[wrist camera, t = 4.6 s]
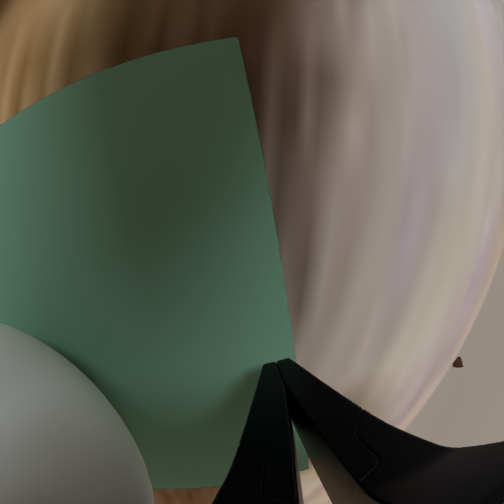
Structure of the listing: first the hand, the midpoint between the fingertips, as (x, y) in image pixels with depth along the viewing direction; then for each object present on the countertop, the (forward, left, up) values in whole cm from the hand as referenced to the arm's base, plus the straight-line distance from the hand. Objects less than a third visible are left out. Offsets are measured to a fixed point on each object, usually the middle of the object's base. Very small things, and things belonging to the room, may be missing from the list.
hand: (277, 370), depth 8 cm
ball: (+9, 0, +4) cm, 10 cm away
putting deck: (+14, 0, -3) cm, 15 cm away
